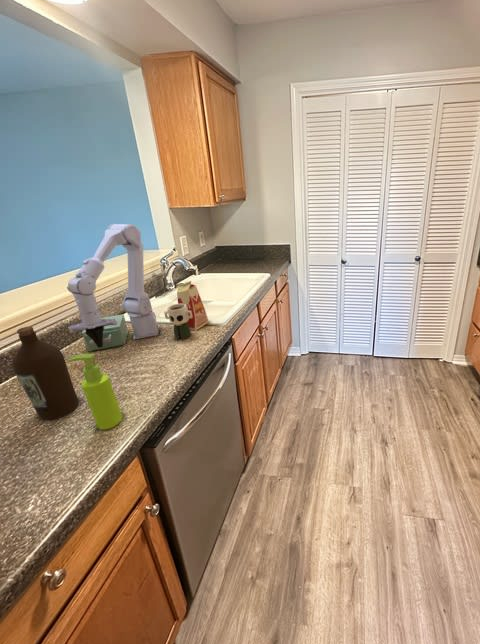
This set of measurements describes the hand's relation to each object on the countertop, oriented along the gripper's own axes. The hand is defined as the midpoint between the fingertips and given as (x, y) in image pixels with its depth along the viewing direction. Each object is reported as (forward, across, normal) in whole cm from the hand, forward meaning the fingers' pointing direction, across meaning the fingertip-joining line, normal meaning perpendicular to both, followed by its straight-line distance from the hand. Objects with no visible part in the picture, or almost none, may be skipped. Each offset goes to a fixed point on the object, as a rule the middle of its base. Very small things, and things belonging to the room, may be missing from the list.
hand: (100, 346), depth 117 cm
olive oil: (+5, -7, -29) cm, 30 cm away
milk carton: (+4, +33, +14) cm, 36 cm away
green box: (+4, 0, +14) cm, 14 cm away
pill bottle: (+3, +13, +34) cm, 36 cm away
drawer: (+3, 0, +10) cm, 10 cm away
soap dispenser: (+6, +7, -41) cm, 42 cm away
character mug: (+4, +28, +4) cm, 29 cm away
